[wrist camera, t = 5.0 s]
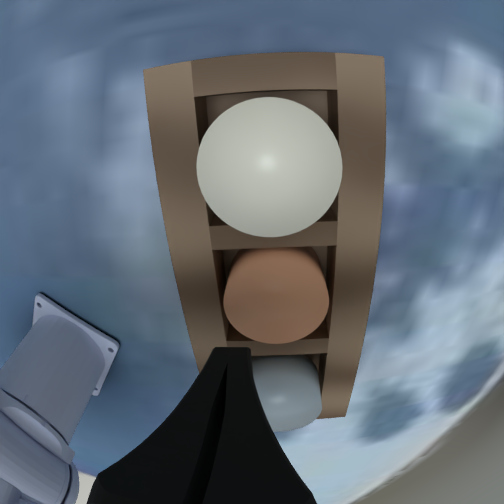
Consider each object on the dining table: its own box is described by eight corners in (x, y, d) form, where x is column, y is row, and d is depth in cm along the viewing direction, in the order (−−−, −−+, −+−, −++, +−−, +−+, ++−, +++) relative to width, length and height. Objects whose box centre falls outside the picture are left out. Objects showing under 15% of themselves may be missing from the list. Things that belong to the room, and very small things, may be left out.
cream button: (328, 209, 14) (340, 235, 12) (216, 214, 15) (205, 240, 12) (327, 96, 12) (341, 96, 10) (204, 102, 12) (189, 104, 10)
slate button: (315, 397, 21) (318, 429, 18) (242, 399, 21) (239, 431, 19) (320, 348, 18) (325, 383, 16) (235, 350, 19) (230, 385, 16)
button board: (340, 387, 24) (345, 416, 21) (218, 390, 24) (213, 419, 22) (364, 62, 13) (383, 56, 10) (164, 73, 14) (143, 69, 11)
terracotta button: (319, 310, 19) (325, 341, 16) (234, 313, 19) (229, 344, 17) (323, 232, 17) (332, 257, 14) (225, 235, 17) (217, 261, 15)
